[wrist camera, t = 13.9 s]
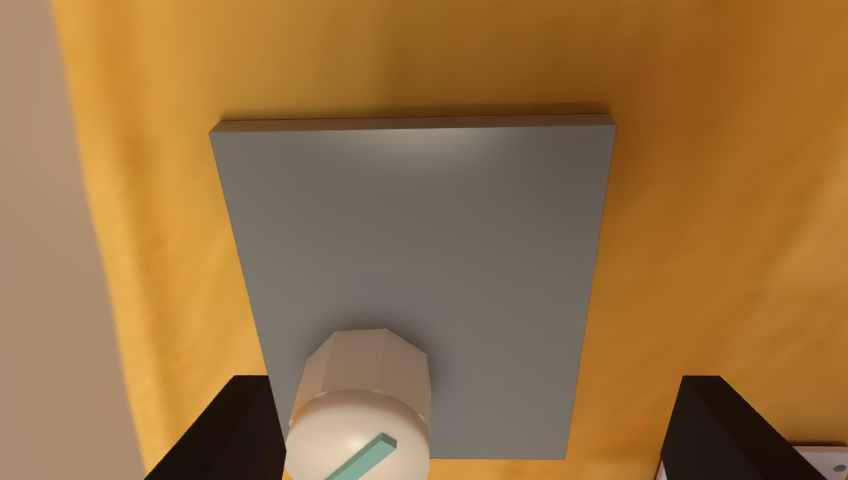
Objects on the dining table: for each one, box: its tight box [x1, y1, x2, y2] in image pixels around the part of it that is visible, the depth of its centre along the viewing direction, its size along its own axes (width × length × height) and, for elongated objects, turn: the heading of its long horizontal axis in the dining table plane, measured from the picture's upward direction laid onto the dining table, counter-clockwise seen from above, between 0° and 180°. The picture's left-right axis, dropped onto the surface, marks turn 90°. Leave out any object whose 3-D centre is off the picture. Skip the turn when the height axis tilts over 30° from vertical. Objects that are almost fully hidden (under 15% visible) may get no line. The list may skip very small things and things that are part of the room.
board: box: [209, 113, 616, 460], centre depth 20 cm, size 15×12×4 cm
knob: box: [284, 328, 431, 480], centre depth 20 cm, size 5×5×4 cm
